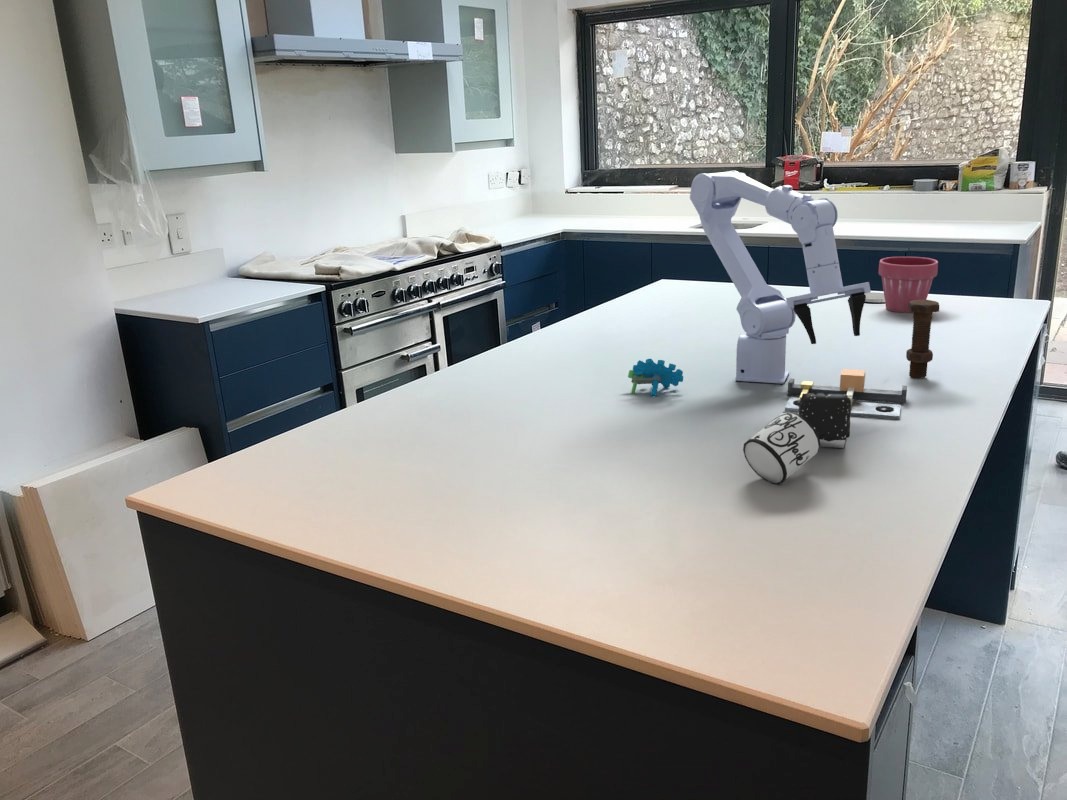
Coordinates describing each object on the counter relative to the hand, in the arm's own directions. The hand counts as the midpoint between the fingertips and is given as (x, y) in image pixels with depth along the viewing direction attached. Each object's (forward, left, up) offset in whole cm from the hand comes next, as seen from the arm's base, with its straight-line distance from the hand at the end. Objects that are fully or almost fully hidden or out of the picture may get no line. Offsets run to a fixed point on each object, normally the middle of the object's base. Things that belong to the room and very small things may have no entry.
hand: (835, 339), depth 161 cm
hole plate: (+2, -8, -11) cm, 13 cm away
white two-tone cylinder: (-2, -36, -11) cm, 37 cm away
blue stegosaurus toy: (-33, -5, -11) cm, 35 cm away
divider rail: (+2, -4, -11) cm, 12 cm away
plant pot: (+10, +81, -11) cm, 83 cm away
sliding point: (+3, -3, -10) cm, 11 cm away
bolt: (+14, +16, -11) cm, 24 cm away
